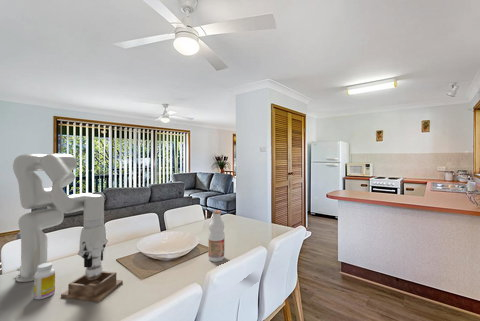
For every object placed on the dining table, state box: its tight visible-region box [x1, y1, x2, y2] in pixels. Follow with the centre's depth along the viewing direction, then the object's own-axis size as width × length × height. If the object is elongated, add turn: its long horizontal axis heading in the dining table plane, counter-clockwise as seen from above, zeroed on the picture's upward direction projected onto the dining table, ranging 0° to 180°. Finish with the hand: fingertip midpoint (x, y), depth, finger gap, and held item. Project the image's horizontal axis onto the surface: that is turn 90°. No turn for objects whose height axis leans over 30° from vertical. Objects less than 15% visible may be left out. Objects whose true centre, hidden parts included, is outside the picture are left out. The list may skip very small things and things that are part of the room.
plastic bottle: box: [84, 240, 103, 280], centre depth 97 cm, size 6×7×20 cm
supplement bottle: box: [33, 262, 56, 300], centre depth 93 cm, size 7×7×13 cm
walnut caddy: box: [60, 270, 124, 303], centre depth 97 cm, size 18×14×5 cm
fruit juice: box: [207, 209, 226, 263], centre depth 129 cm, size 9×9×28 cm
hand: (93, 263), depth 97 cm, fingers closed on plastic bottle, 5 cm apart
